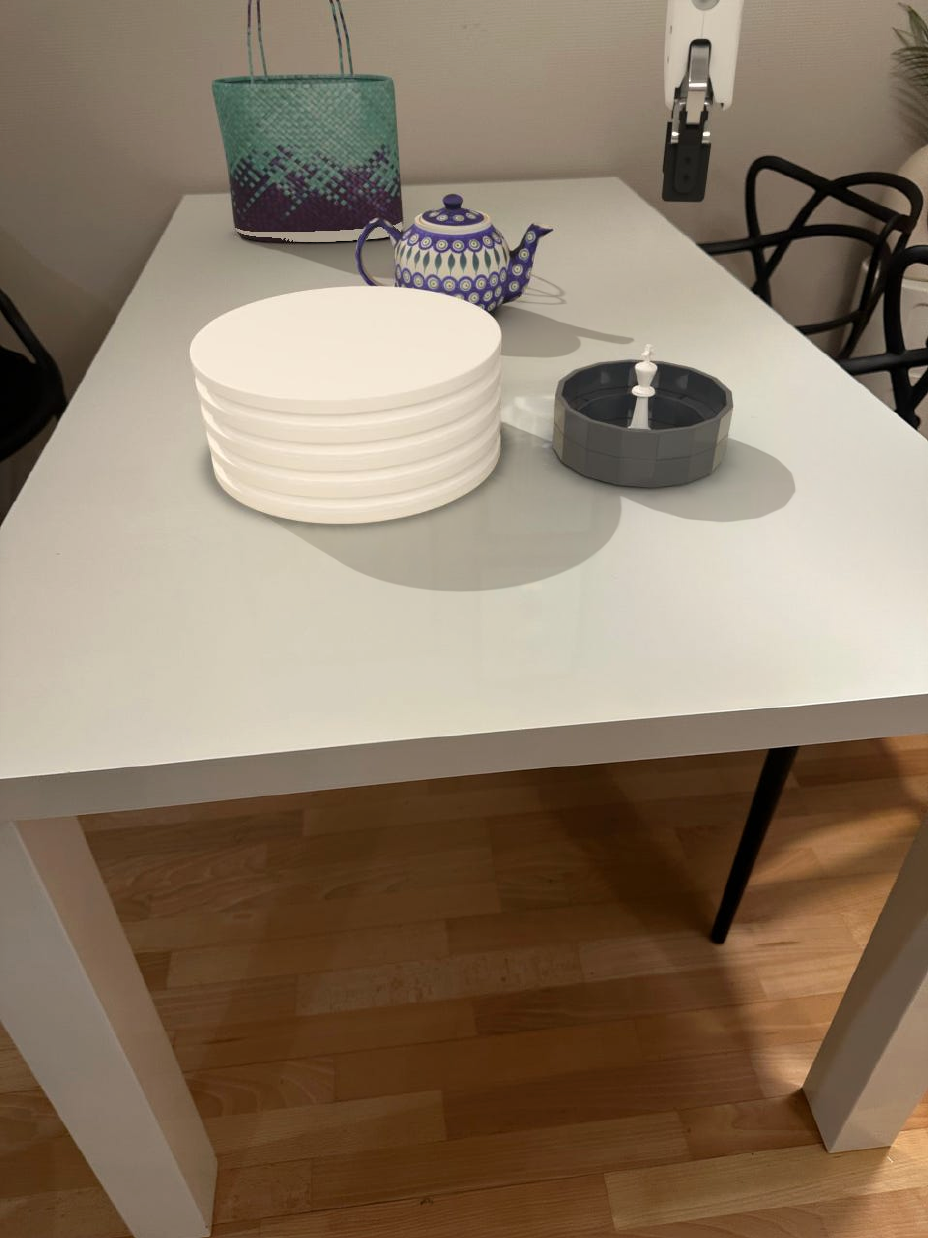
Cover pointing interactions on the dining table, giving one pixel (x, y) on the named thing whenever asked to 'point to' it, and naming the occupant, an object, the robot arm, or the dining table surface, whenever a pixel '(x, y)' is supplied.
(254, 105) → the basket
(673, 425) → the grey faceted round tub
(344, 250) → the dining table surface
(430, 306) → the plate stack
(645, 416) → the chess piece
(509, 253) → the teapot
